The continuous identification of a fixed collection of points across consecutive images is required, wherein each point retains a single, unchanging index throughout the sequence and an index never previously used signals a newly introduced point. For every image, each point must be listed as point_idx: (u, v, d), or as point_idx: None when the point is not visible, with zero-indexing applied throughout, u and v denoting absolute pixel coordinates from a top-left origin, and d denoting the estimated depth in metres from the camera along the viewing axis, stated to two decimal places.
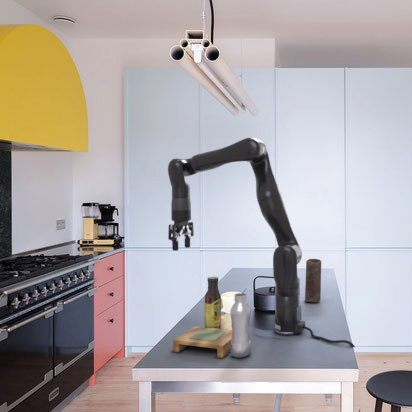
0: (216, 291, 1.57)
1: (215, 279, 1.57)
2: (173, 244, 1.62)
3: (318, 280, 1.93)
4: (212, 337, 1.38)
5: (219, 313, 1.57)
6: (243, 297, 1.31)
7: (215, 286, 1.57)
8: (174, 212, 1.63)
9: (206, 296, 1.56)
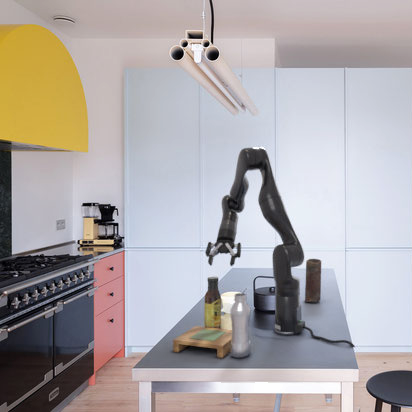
0: (216, 291, 1.57)
1: (215, 279, 1.57)
2: None
3: (318, 280, 1.93)
4: (212, 337, 1.38)
5: (219, 313, 1.57)
6: (243, 297, 1.31)
7: (215, 286, 1.57)
8: None
9: (206, 296, 1.56)
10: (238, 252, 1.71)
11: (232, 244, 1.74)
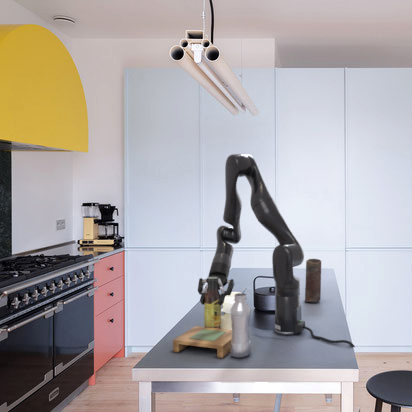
0: (216, 291, 1.57)
1: (215, 279, 1.57)
2: None
3: (318, 280, 1.93)
4: (212, 337, 1.38)
5: (219, 313, 1.57)
6: (243, 297, 1.31)
7: (215, 286, 1.57)
8: None
9: (206, 296, 1.56)
10: (228, 290, 1.58)
11: (224, 280, 1.62)
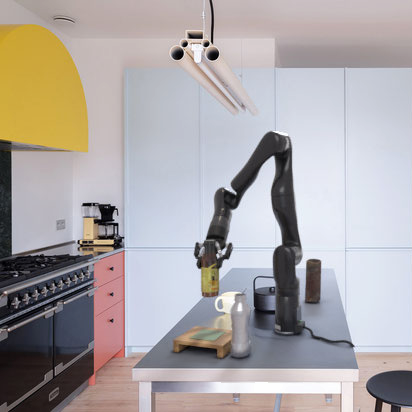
0: (213, 254, 1.46)
1: (212, 241, 1.46)
2: None
3: (318, 280, 1.93)
4: (212, 337, 1.38)
5: (217, 278, 1.46)
6: (243, 297, 1.31)
7: (212, 249, 1.46)
8: None
9: (203, 260, 1.45)
10: (226, 253, 1.47)
11: (223, 243, 1.51)
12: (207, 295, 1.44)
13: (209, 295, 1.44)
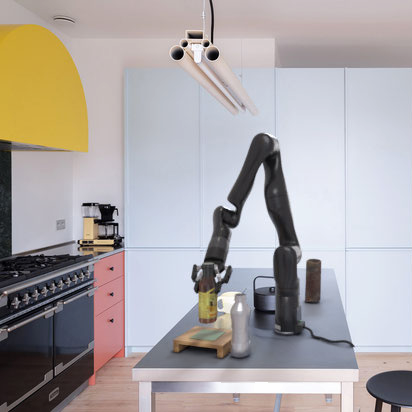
0: (212, 278, 1.39)
1: (211, 265, 1.39)
2: None
3: (318, 280, 1.93)
4: (212, 337, 1.38)
5: (215, 304, 1.39)
6: (243, 297, 1.31)
7: (211, 273, 1.39)
8: None
9: (200, 284, 1.38)
10: (225, 277, 1.41)
11: (221, 266, 1.44)
12: (205, 321, 1.38)
13: (207, 321, 1.38)
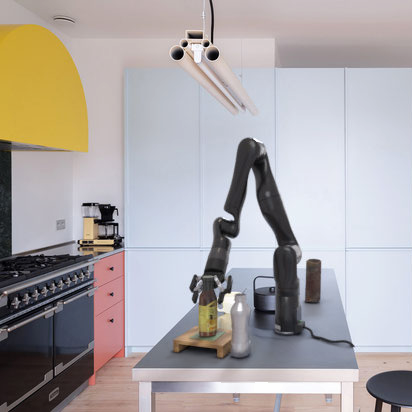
0: (212, 292, 1.39)
1: (210, 278, 1.39)
2: None
3: (318, 280, 1.93)
4: (212, 337, 1.38)
5: (215, 317, 1.40)
6: (243, 297, 1.31)
7: (210, 286, 1.39)
8: None
9: (200, 297, 1.39)
10: (228, 287, 1.41)
11: (221, 277, 1.44)
12: (205, 335, 1.38)
13: (207, 335, 1.38)
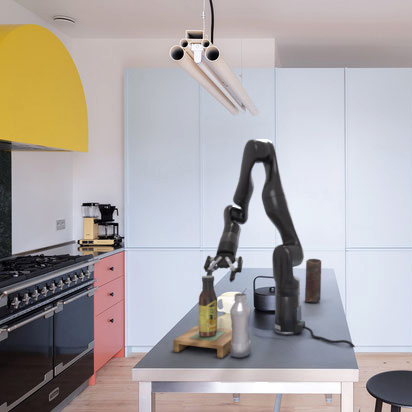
0: (212, 292, 1.39)
1: (210, 278, 1.39)
2: None
3: (318, 280, 1.93)
4: (212, 337, 1.38)
5: (215, 317, 1.40)
6: (243, 297, 1.31)
7: (210, 286, 1.39)
8: None
9: (200, 297, 1.39)
10: (239, 267, 1.57)
11: (233, 258, 1.60)
12: (205, 335, 1.38)
13: (207, 335, 1.38)
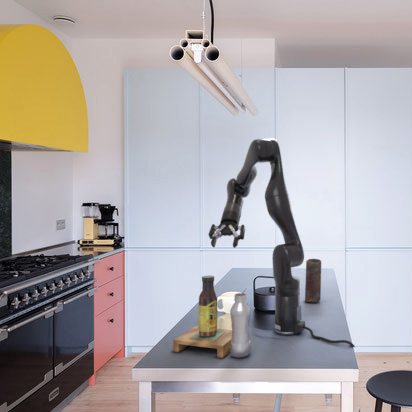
0: (212, 292, 1.39)
1: (210, 278, 1.39)
2: None
3: (318, 280, 1.93)
4: (212, 337, 1.38)
5: (215, 317, 1.40)
6: (243, 297, 1.31)
7: (210, 286, 1.39)
8: None
9: (200, 297, 1.39)
10: (241, 234, 1.67)
11: (236, 226, 1.70)
12: (205, 335, 1.38)
13: (207, 335, 1.38)
